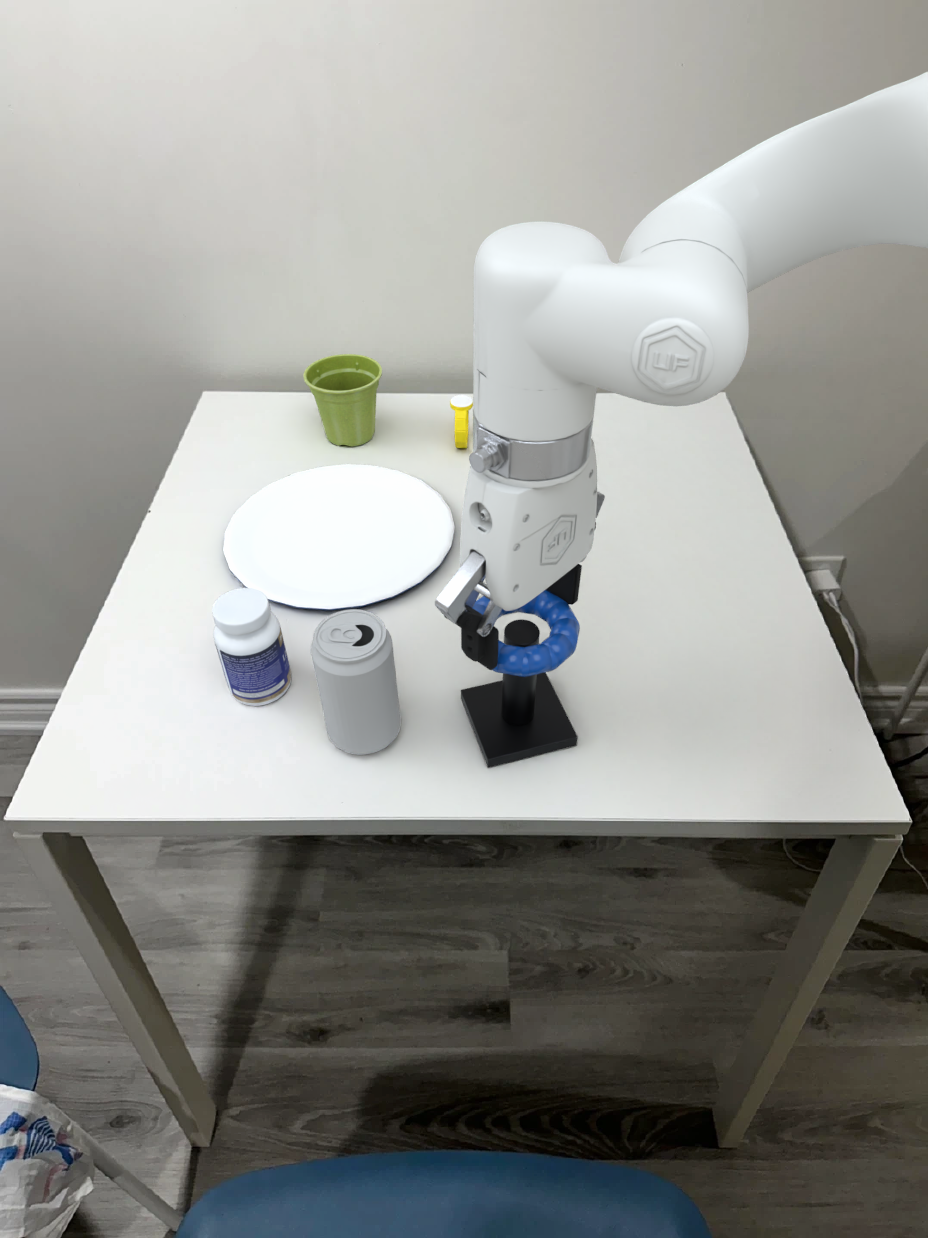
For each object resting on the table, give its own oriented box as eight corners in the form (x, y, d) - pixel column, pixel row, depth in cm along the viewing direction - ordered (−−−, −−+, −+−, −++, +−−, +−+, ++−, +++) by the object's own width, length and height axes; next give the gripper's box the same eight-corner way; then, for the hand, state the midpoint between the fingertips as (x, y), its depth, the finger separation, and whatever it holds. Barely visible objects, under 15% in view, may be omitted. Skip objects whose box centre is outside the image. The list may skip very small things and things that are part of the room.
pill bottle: (304, 685, 78) (288, 606, 71) (251, 718, 75) (228, 640, 68) (269, 652, 81) (250, 573, 74) (217, 683, 78) (191, 604, 71)
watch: (452, 429, 108) (451, 387, 104) (474, 429, 108) (474, 387, 104) (449, 455, 104) (448, 412, 100) (472, 456, 104) (471, 413, 100)
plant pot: (299, 432, 108) (288, 369, 102) (360, 407, 112) (354, 345, 106) (339, 464, 103) (330, 400, 97) (402, 437, 107) (397, 374, 101)
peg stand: (544, 678, 78) (551, 588, 70) (577, 745, 72) (589, 656, 65) (460, 698, 76) (458, 608, 69) (487, 768, 71) (488, 679, 63)
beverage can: (398, 760, 72) (388, 664, 63) (322, 759, 72) (302, 663, 63) (404, 702, 76) (394, 605, 68) (332, 701, 76) (314, 604, 68)
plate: (183, 594, 87) (180, 585, 86) (278, 459, 104) (276, 450, 103) (419, 634, 82) (418, 625, 81) (477, 486, 100) (477, 477, 99)
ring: (553, 590, 71) (555, 571, 70) (595, 666, 65) (598, 646, 63) (450, 612, 69) (449, 593, 68) (483, 693, 63) (483, 673, 62)
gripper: (483, 521, 48) (481, 715, 60) (658, 404, 57) (625, 593, 69) (392, 469, 52) (407, 661, 64) (570, 367, 60) (553, 552, 73)
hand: (520, 626), depth 66 cm, fingers closed on ring, 9 cm apart
